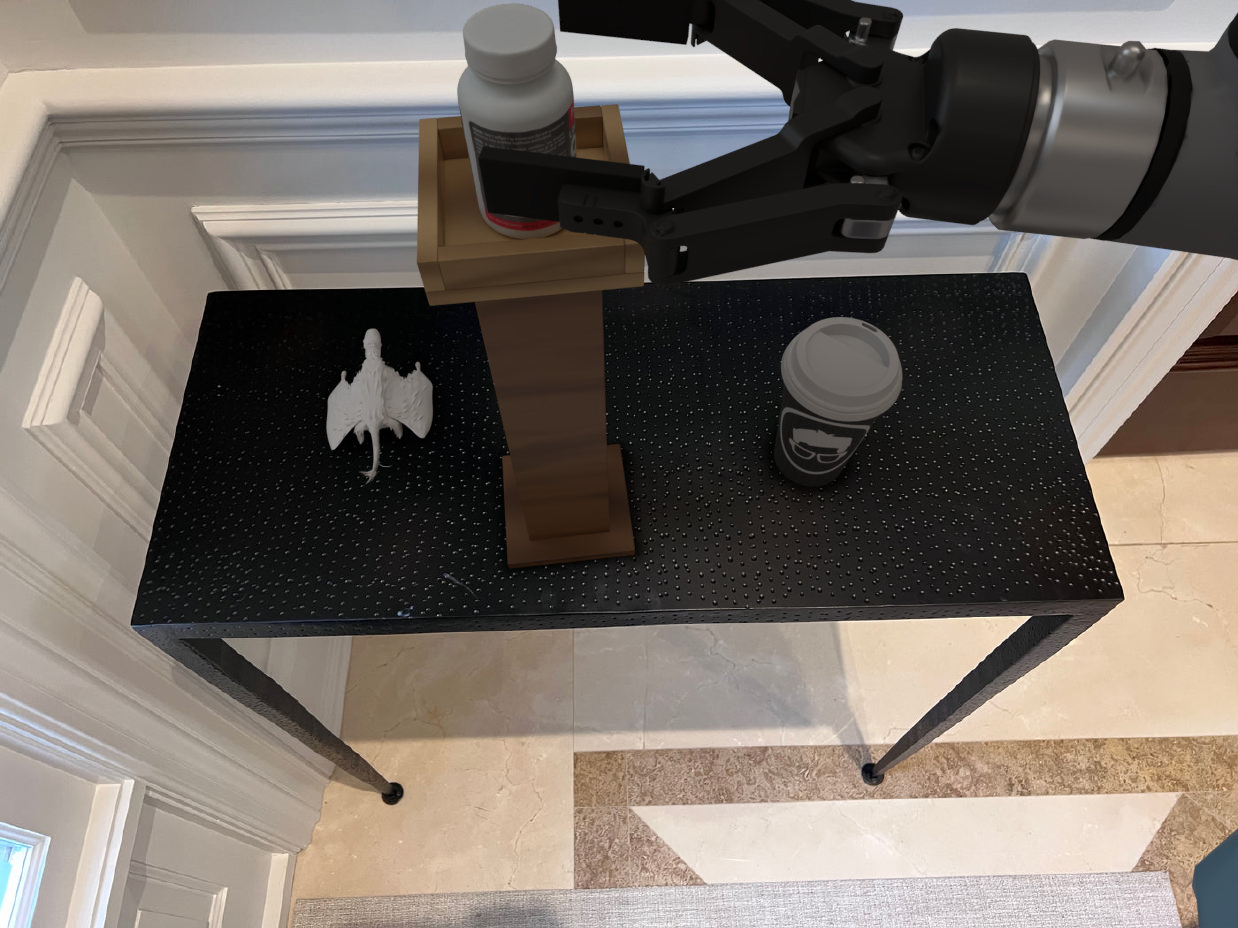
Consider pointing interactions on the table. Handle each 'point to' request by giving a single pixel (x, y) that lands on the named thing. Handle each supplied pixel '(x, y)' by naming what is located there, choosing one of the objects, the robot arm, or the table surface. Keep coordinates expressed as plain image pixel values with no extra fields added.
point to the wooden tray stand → (537, 344)
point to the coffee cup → (832, 396)
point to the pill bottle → (514, 98)
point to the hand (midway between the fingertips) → (525, 81)
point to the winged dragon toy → (379, 401)
